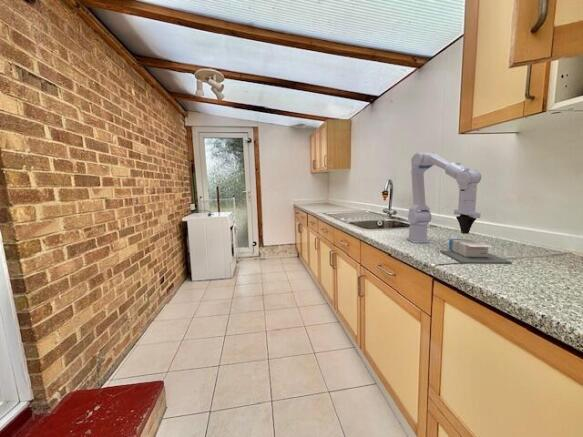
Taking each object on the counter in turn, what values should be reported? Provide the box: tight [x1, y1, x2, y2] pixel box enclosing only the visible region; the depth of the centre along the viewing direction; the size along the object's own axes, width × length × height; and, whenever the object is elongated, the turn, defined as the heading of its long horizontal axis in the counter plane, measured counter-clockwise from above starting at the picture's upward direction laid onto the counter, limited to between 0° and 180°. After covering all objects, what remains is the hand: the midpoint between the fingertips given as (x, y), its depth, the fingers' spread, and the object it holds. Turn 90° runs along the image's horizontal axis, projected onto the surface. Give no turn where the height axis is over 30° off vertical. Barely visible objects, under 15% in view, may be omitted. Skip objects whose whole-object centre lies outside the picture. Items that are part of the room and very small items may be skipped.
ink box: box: [448, 238, 493, 257], centre depth 101 cm, size 8×5×15 cm
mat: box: [439, 250, 513, 265], centre depth 99 cm, size 16×17×1 cm
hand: (464, 233), depth 104 cm, fingers closed
